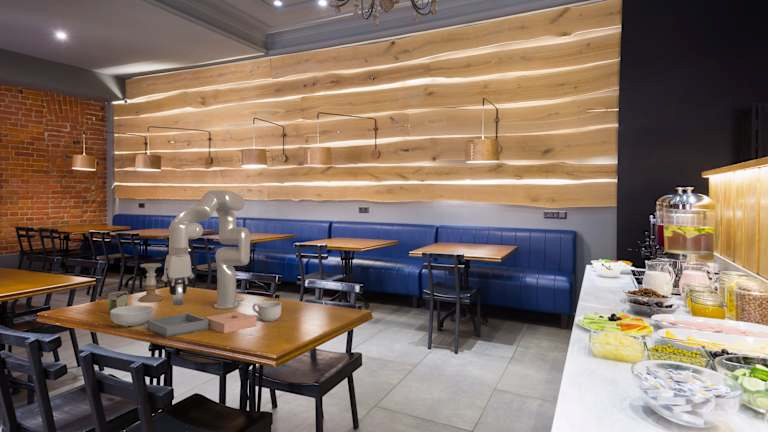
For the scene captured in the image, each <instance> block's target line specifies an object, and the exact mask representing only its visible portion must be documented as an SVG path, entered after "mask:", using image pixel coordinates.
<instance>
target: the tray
mask: <svg viewBox="0 0 768 432" xmlns="http://www.w3.org/2000/svg"><path fill="white" fill-rule="evenodd" d="M146 323H147V324H146V325H147V327H146V329H147V331H150V332H151V333H154V334H157V335H159V336H161V337H164V338H166V339H169V338H173V337H176V336H177V335H178V336H182V334H183V335H186V334H192V333H196V332H200V331H204V330H208V329H209V328H208V320H207V319H205V317H201V316H198V315H195V314H191V313H188V312H186V313H182V314H176V315H169V316H164V317H158V318H154V319H152V318H151V319H150V320H147V321H146ZM178 336H177V337H178Z"/></svg>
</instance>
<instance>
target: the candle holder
mask: <svg viewBox="0 0 768 432" xmlns="http://www.w3.org/2000/svg"><path fill="white" fill-rule="evenodd" d="M140 267H141V268H145V270H146V272H147V273H146V274H145V276H146V281H145V285H146V286H145V287H144V289H145V291H146V293H145V294H143V295H141V297H138V302H139V301H141V302H140V303H155V302H154V301H156V302H160V300H161V301H163V300H162V299H164V296H162V295H160V294H158V293H156V290H157V286H156V285H157V281H156V276H157V273H155V271H156V269H157V268H159V267H162V264H161V263H157V262H156V263H155V262H152V263H150V262H149V263H142V264H140Z"/></svg>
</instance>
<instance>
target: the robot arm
mask: <svg viewBox="0 0 768 432" xmlns="http://www.w3.org/2000/svg"><path fill="white" fill-rule="evenodd" d="M244 206H245V198H244V197H243V196H242V194H240V193H237V192H235V191H234V192H233V191H231V190H221V189H220V190H218V189H216V190H215V189H214V190H213V189H211V190H208V191H206V192H205V193H204V194H203V196H202V197H201V198H200V200H199V201H198V202H197V204H195V205H194V206H192V207H190V208H188V209H187V210H184V211H183V212H181V213H179V214H178V215H176V216H175V217H174V219H173V220H172V222H171V223H170V225H169V227H168V235H169V236H168V237H169V239H168V254H167V255H166V256H165V257H166V258H165V261H164V262H165V263H164V271H163V273H164V274H163V275H162V277H161V280H162V281H164V282H165V283H166V284H167V285H169V294H170V295H172V296H173V295H175V286H174V283H175V279H183V295H184V294H186V293H187V289H188V288H187V287H188V286H187V285H188V284H189V282H190V281H191V280H192V279H193V278H194V277H195V274H194V273H193V271H192V261H191V256H190V252H191V251H192V249H191V248H190V247H189V240H196V239H197V240H198V239H199V238H201V237H202V235H203V233H204V228H203V226H202V224H200V223H201V222H203V221H207V220H209V219H210V218H211V217H212V216H213V215H214V213H216V214H217V216H218V220H219V221H218V222H219V223H218V225H219V227H218V240H219V243H220V244H222V245H228V246H232V245H233V246H238V247H233V246H232V247H228V246H224V247H220V248H218V249H217V250H216V252H215V262H216V268H217V269H216V272H217V274H216V279H217V280H216V281H217V282H216V283H217V284H216V290H217V292H216V303H214V304H213V308H215V309H220V310H224V309H225V310H226V309H227V310H228V309H234V308H235V309H236V308H238V307H240V304H239V302H243V301H244V300H245V297H243V296H242V297H237V272H236V269H235V267H236V266H239V267H240V266H247V265H248V264H249V263H250V257H251V254H250V253H251V234H250V231H249V229H248V228H246V227H242V226H237V217H236V215H235V212H239V211H241V210H242V209H244ZM234 266H235V267H234Z"/></svg>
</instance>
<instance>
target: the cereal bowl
mask: <svg viewBox="0 0 768 432" xmlns="http://www.w3.org/2000/svg"><path fill="white" fill-rule="evenodd" d="M109 315H110V321H112V322H113V323H114V324H117V325H121V327H123V328H129V327H128V326H134V327H138V326H137V325H139V326H141V325H142V324H144V323H147V320H151V319H152V317H153V315H154V307H153V306H149V305H142V304H140V305H135V304H134V305H127V306H124V307H118V308H115V309H112V310H111V311H110V310H109Z"/></svg>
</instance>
